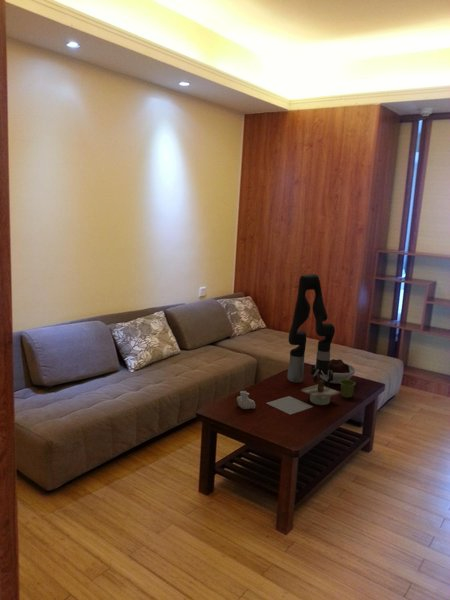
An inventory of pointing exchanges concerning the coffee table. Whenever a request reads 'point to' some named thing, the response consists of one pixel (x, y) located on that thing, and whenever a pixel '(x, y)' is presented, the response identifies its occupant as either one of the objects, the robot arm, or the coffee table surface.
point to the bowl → (319, 400)
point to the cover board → (320, 391)
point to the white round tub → (340, 371)
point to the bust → (245, 401)
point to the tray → (289, 405)
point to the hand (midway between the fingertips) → (321, 384)
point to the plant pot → (347, 388)
